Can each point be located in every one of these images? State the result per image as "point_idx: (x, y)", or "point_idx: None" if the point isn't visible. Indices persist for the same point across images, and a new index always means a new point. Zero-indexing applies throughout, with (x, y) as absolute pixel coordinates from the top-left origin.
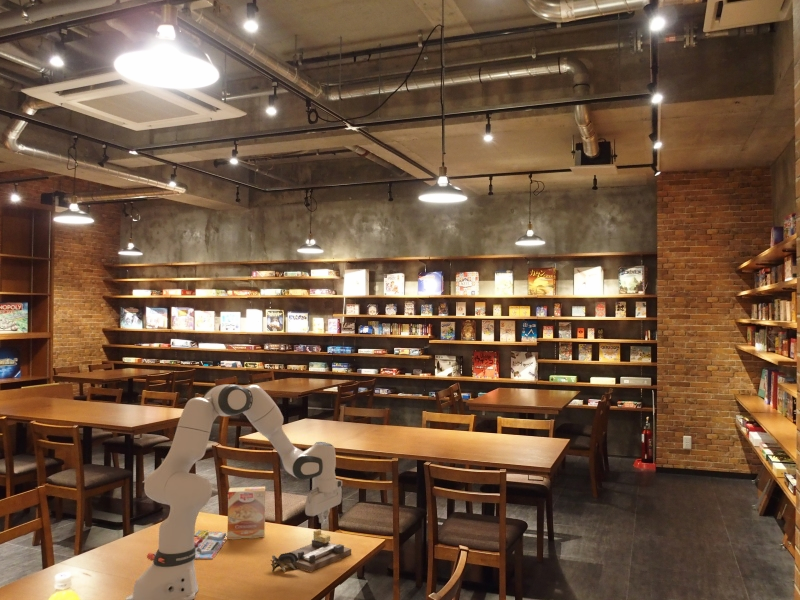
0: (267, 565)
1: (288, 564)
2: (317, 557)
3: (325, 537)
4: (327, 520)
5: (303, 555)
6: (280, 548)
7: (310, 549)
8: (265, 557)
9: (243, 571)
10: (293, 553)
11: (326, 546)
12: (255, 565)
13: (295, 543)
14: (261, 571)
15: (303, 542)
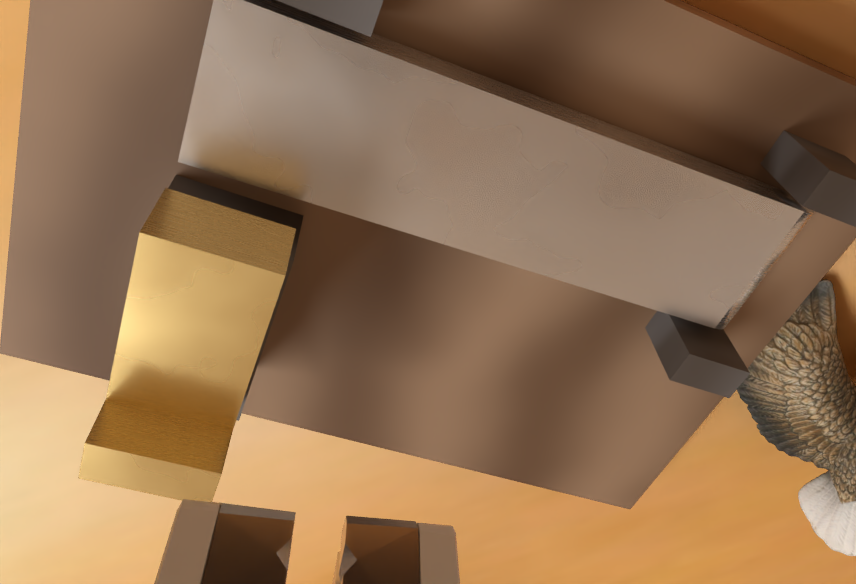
0: (712, 507)
1: (839, 371)
2: (674, 152)
3: (258, 275)
4: (196, 500)
5: (703, 323)
6: (305, 566)
7: (359, 342)
8: (537, 575)
9: (843, 581)
10: (532, 440)
11: (326, 173)
12: (718, 567)
13: (128, 523)
14: None
15: (61, 481)
